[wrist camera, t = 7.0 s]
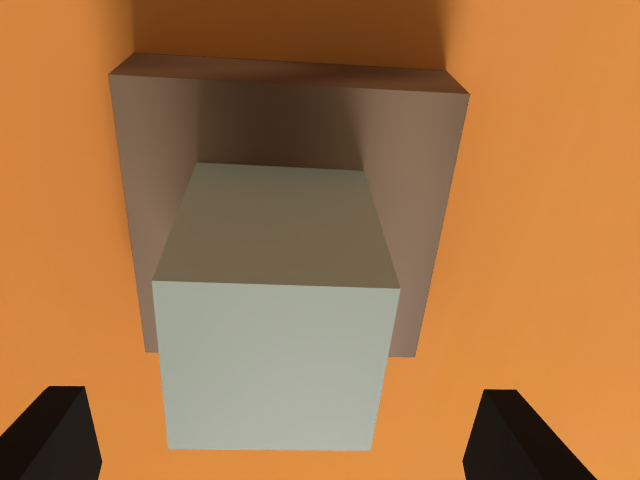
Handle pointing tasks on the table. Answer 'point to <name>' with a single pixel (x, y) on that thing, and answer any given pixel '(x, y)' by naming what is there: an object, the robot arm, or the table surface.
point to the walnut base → (290, 149)
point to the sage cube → (274, 310)
